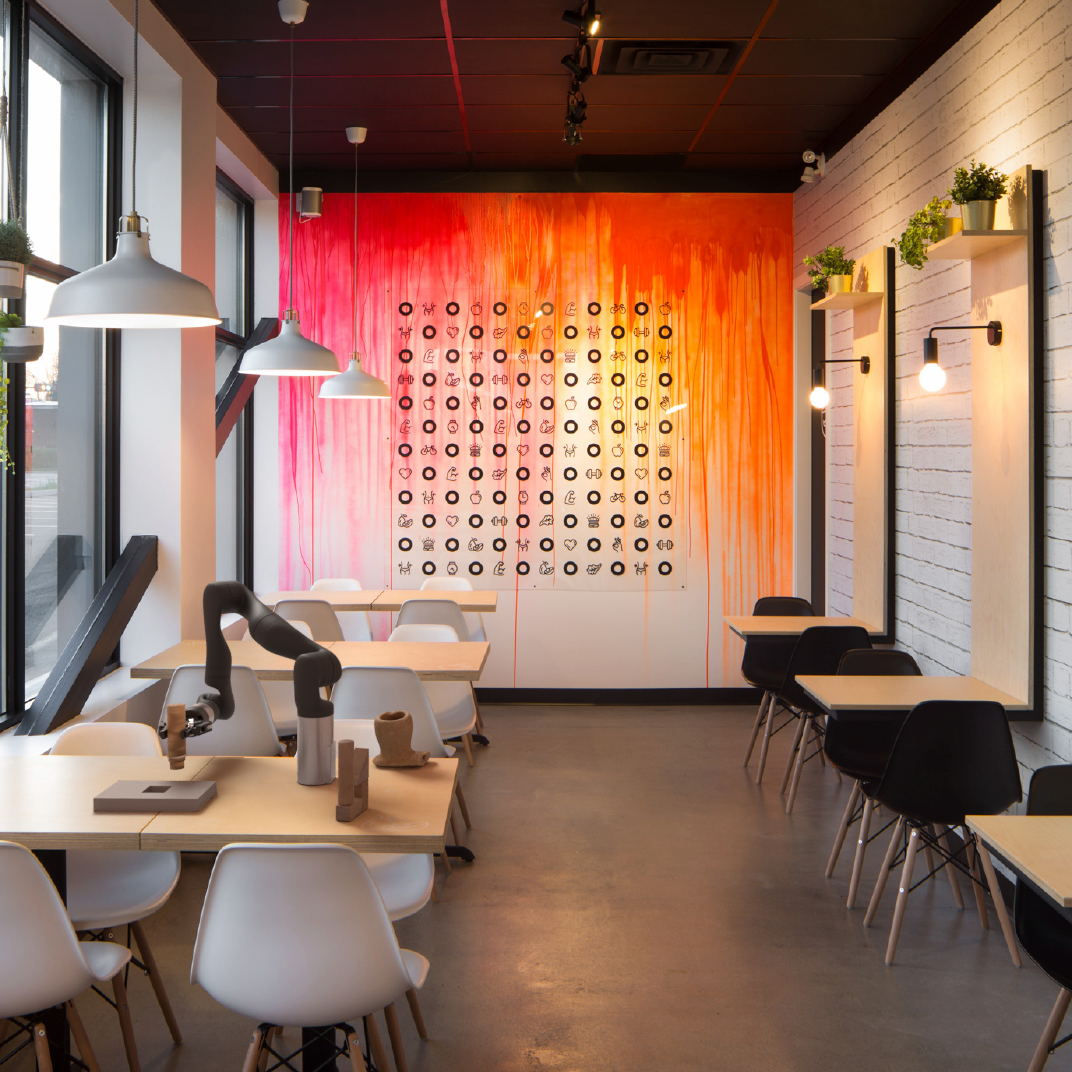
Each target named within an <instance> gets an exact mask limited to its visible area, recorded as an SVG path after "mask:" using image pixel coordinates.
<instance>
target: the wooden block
mask: <svg viewBox="0 0 1072 1072" xmlns="http://www.w3.org/2000/svg"><path fill="white" fill-rule="evenodd" d="M337 745H338V746H337V754H338V755H337V759H338V760H337V761H338V762H337V804H336V805H335V821H337V820H339V822H348V823H349V822H351V821H353V820H354V819H355V818H356V817H358V816H359V815H360V814H361V812H362V813H363V812H364V811H366V810H367V809H368V808H369V778H370V775H369V774H370V749H369V748H366V747H364V748H363V747H355V740H353V739H346V738H345V739H341V740H339V741H338V743H337ZM366 808H367V809H366ZM365 809H366V810H365ZM352 819H353V820H352Z"/></svg>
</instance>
